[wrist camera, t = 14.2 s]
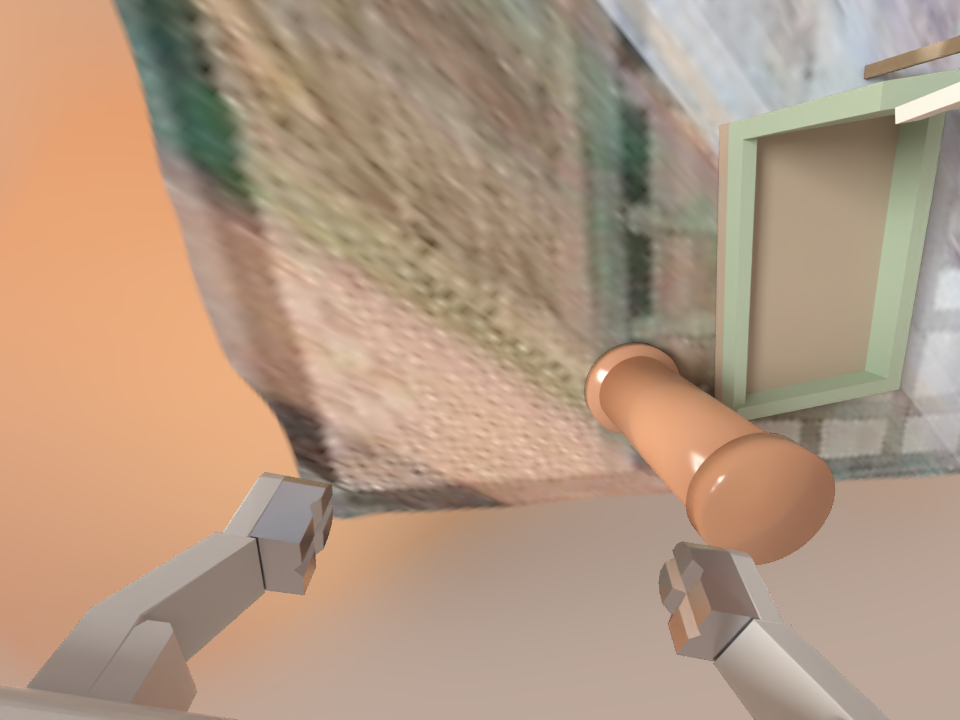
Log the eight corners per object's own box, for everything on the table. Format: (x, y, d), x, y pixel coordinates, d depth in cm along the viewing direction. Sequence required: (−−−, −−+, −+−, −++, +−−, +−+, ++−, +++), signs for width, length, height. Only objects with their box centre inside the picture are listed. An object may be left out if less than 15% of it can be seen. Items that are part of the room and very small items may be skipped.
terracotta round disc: (580, 351, 36) (585, 356, 35) (672, 334, 36) (680, 338, 35) (587, 435, 38) (592, 442, 37) (673, 418, 39) (680, 424, 38)
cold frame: (720, 125, 32) (883, 81, 20) (905, 95, 32) (1161, 36, 21) (714, 406, 39) (832, 488, 28) (865, 376, 40) (1039, 443, 29)
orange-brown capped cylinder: (590, 361, 35) (702, 466, 21) (674, 342, 35) (840, 434, 21) (598, 437, 37) (704, 578, 23) (677, 419, 38) (829, 547, 24)
